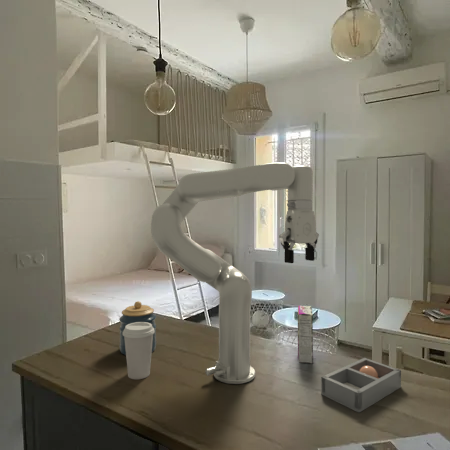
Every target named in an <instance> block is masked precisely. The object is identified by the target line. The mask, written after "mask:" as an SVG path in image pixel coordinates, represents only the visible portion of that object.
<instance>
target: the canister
mask: <svg viewBox="0 0 450 450" xmlns="http://www.w3.org/2000/svg"><path fill="white" fill-rule="evenodd" d="M154 311H155V310H154V308H152V307H150V306H149V305H147V304H142V302H141V301H139V300H137V301H135V302H134V304H133V305H129V306H127V307H126V308H124V309H123V310H122V311H121V314H122V315H121V316H120V317H119V318H118V319H119V322H120V326H119V350H120V353H121V354H123V356H126V349H125V339H124V336H123V331H124V329H125V326H126V325H128V324H131V323H135V322H148V323H151V324H152V327H153V328H154V330H155V333H154V334H153V341H152V353H153V352H154V351H156V349H157V348H156V347H157V332H156V331H157V330H156V329H157V324H156V319H157V315H156V314H155V313H154Z"/></svg>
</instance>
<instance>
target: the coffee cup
mask: <svg viewBox="0 0 450 450" xmlns="http://www.w3.org/2000/svg"><path fill="white" fill-rule="evenodd" d="M154 333H155V330H154V328H153V327H152V324H151V323H148V322H135V323H131V324H128V325H126V326H125V329H124V331H123V336H124V339H125V349H126V355H125V356H126V357H125V358H126V369H127V377H128V378H129V379H132V380H141V379H143V380H144V379H145V378H148V377H149V376H150V374H151V365H152V363H151V361H152V353H153V352H152V341H153V334H154Z"/></svg>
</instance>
